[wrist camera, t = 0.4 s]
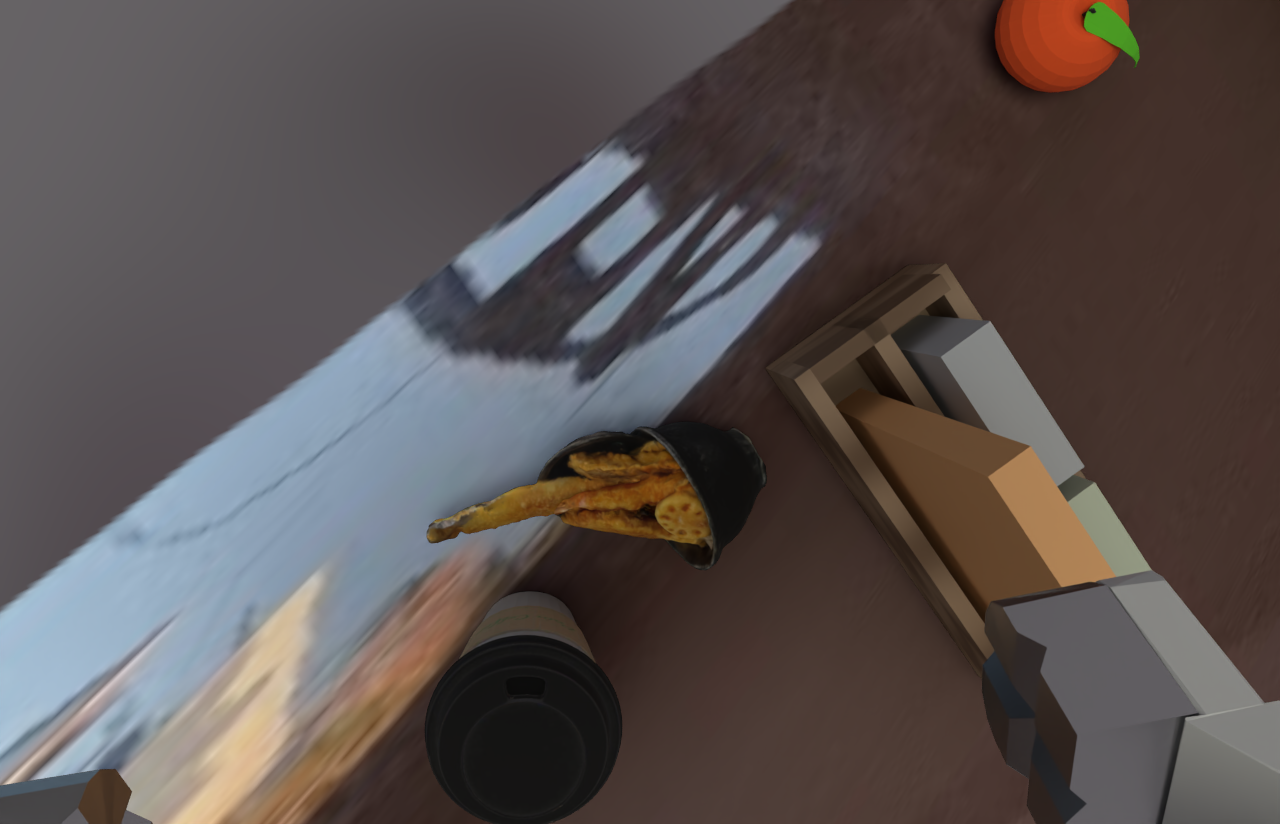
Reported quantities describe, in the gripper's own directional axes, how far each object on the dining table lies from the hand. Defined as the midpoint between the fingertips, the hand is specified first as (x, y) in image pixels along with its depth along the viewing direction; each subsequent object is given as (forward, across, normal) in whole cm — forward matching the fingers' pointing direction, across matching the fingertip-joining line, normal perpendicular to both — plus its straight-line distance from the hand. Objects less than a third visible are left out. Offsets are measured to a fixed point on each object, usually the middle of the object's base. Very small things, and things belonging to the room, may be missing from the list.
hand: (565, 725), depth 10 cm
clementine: (+54, +29, -12) cm, 62 cm away
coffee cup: (+40, -7, -38) cm, 55 cm away
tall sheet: (+41, +18, -34) cm, 56 cm away
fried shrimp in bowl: (+44, -1, -30) cm, 53 cm away
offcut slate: (+44, +20, -28) cm, 56 cm away
